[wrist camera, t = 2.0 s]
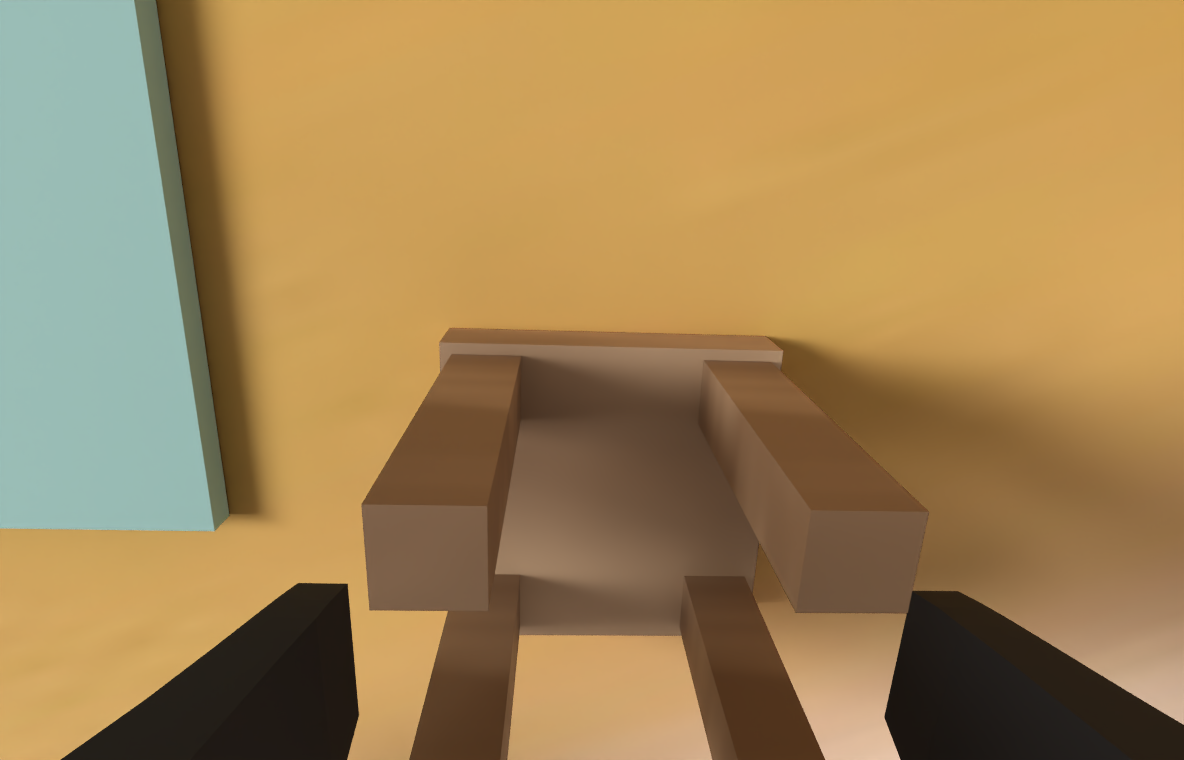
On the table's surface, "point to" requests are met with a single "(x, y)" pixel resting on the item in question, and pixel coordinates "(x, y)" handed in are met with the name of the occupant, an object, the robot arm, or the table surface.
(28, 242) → the mat
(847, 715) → the table surface
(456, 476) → the upturned stool
